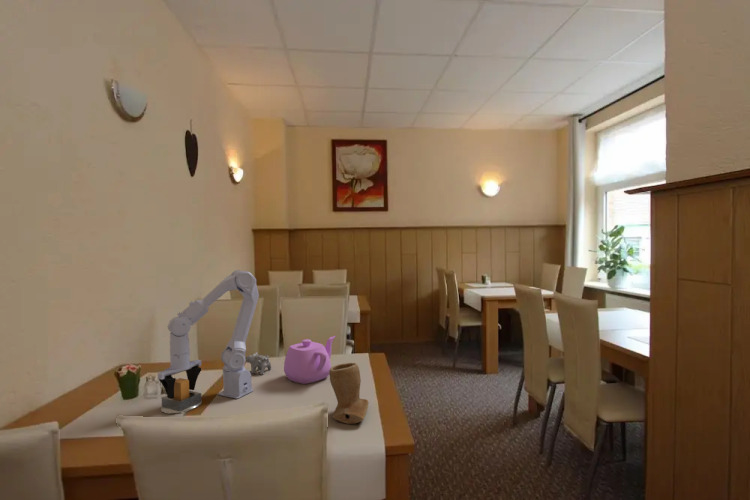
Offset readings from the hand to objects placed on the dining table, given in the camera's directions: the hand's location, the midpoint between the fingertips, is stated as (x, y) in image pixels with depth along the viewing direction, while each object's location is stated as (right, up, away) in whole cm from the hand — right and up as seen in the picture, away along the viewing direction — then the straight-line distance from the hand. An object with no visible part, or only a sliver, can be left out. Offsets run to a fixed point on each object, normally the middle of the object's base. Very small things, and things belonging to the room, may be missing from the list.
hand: (181, 393), depth 123 cm
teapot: (+38, -3, +24) cm, 45 cm away
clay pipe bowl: (+57, -3, -10) cm, 57 cm away
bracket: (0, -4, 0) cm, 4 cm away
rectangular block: (0, -4, 0) cm, 4 cm away
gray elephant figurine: (+15, -4, +32) cm, 35 cm away
